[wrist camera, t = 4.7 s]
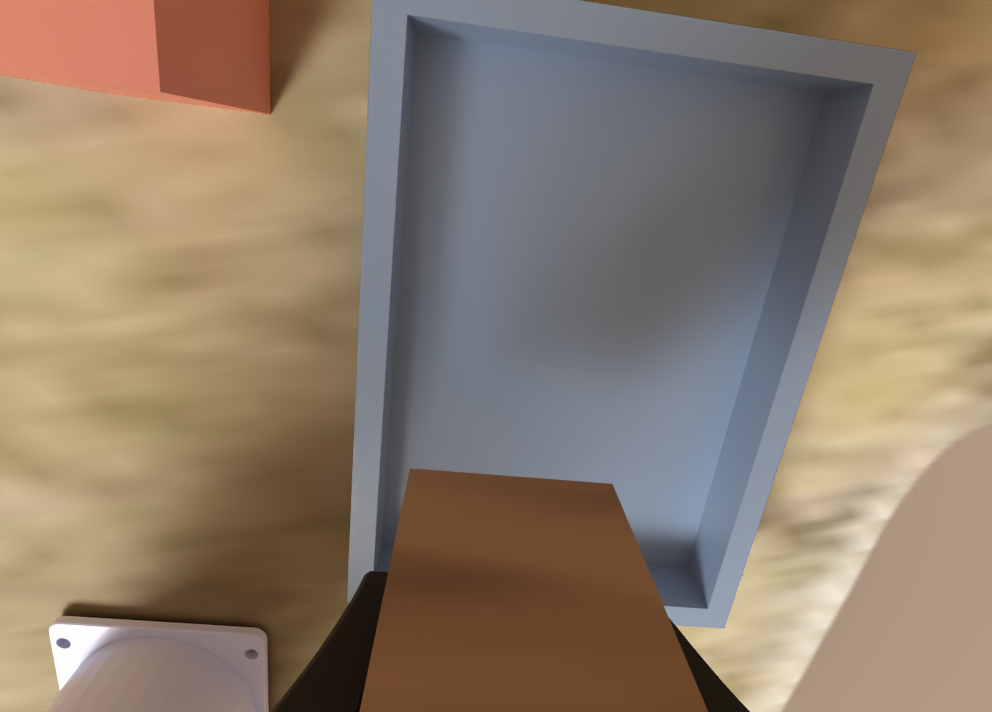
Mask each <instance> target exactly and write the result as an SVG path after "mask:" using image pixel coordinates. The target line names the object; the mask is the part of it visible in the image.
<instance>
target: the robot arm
mask: <svg viewBox="0 0 992 712" xmlns="http://www.w3.org/2000/svg"><path fill="white" fill-rule="evenodd" d="M387 576H388V572H379V571H369V572H368V573H366V574H365V575H364V577H363V579H362V581H361V583H360V585H359V587H358V589H357V591H356V592H355V594H354V596H353V598H352V600H351V601H350V603H349V605H348V606H347V608H346V610H345V611H344V613H343V614H342V616H341V618H340V619H339V621H338V622H337V624H336V625H335V627H334V628H333V630H332V631H331V633H330V634H329V636H328V637H327V639H326V640H325V642H324V643H323V644H322V646H321V647H320V649H319V650H318V652H317V653H316V655H315V656H314V657H313V659H312V660H311V662H310V663H309V664H308V665H307V667H306V668H305V669H304V671H303V672H302V673H301V675H300V676H299V677H298V678H297V680H296V681H295V682H294V684H293V685H292V686H291V688H290V689H289V690H288V691H287V693H286V694H285V695H284V697H283V698H282V699H281V700H280V701H279V703H278V704H277V705H276V706H275V707H274V709H273V710H272V711H271V712H359V711H360V707H361V702H362V697H363V692H364V687H365V682H366V678H367V673H368V668H369V663H370V658H371V653H372V649H373V644H374V639H375V634H376V629H377V624H378V620H379V615H380V610H381V605H382V600H383V595H384V591H385V586H386V581H387ZM669 620H670V622H671V624H672V627H673V629H674V632H675V634H676V636H677V639H678V641H679V643H680V646H681V648H682V651H683V653H684V655H685V658H686V660H687V663H688V665H689V667H690V670H691V672H692V674H693V677H694V679H695V682H696V684H697V686H698V689H699V691H700V694H701V696H702V698H703V701H704V703H705V705H706V708H707V710H708V712H750V711H749V710H748V709H747V708H746V707H745V706H744V705H743V704H742V703H741V702H740V701H739V700H738V699H737V698H736V696H735V695H734V694H733V693H732V692H731V691H730V690H729V689H728V688H727V686H726V685H725V684H724V683H723V682H722V681H721V680H720V679H719V677H718V676H717V675H716V674H715V673H714V671H713V670H712V669H711V668H710V667H709V666H708V664H707V663H706V662H705V661H704V660H703V659H702V657H701V656H700V655H699V654H698V653H697V651H696V650H695V649H694V648H693V647H692V645H691V644H690V643H689V642H688V640H687V639H686V638H685V637H684V636H683V634H682V633H681V632H680V631H679V629H678V628H677V627H676V626H675V624H674V623H673V622H672V621H671V619H670V618H669ZM49 635H50V641H51V646H52V651H53V657H54V662H55V667H56V673H57V678H58V683H59V689H60V691H59V693H58V694H57V695H56V697H55V698H54V699H53V700H52V702H51V703H50V704H49V706H48V707H47V708H46V709H45V711H44V712H269V703H268V648H267V635H266V634H265V632H264V631H263V630H261V629H259V628H253V627H237V626H221V625H205V624H189V623H173V622H157V621H141V620H125V619H109V618H93V617H77V616H61V617H59V618H57V619H56V620H55V621H54V622H53V623H52V625H51V626H50V627H49ZM251 649H252V650H251ZM253 650H255V651H253Z"/></svg>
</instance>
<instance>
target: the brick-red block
mask: <svg viewBox="0 0 992 712" xmlns="http://www.w3.org/2000/svg"><path fill="white" fill-rule="evenodd" d="M0 75H4V76H10V77H16V78H21V79H27V80H33V81H39V82H45V83H51V84H57V85H62V86H68V87H74V88H80V89H86V90H92V91H97V92H103V93H110V94H118V95H125V96H133V97H141V98H148V99H156V100H164V101H171V102H179V103H187V104H194V105H202V106H209V107H217V108H225V109H232V110H240V111H248V112H255V113H263V114H271V105H270V28H269V0H0Z"/></svg>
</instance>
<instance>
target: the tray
mask: <svg viewBox="0 0 992 712" xmlns="http://www.w3.org/2000/svg"><path fill="white" fill-rule="evenodd" d="M916 53H917V52H911V51H904V50H898V49H891V48H885V47H878V46H872V45H865V44H859V43H853V42H846V41H840V40H833V39H827V38H820V37H814V36H807V35H801V34H794V33H788V32H782V31H775V30H769V29H762V28H756V27H749V26H743V25H736V24H730V23H723V22H717V21H710V20H704V19H698V18H691V17H685V16H678V15H672V14H665V13H659V12H652V11H646V10H639V9H633V8H627V7H620V6H614V5H607V4H601V3H594V2H588V1H581V0H372V22H371V45H370V69H369V93H368V116H367V140H366V163H365V187H364V211H363V234H362V258H361V282H360V305H359V329H358V352H357V376H356V400H355V423H354V447H353V471H352V494H351V518H350V541H349V565H348V589H347V603H350V601H351V600H352V598H353V596H354V594H355V592H356V591H357V589H358V587H359V585H360V583H361V581H362V579H363V577H364V575H365V574H366V573H368V572H369V571H379V572H388V571H389V566H390V562H391V557H392V552H393V547H394V542H395V537H396V533H397V528H398V523H399V518H400V513H401V508H402V504H403V499H404V494H405V489H406V484H407V479H408V475H409V470H410V468H414V469H427V470H440V471H453V472H466V473H479V474H492V475H505V476H518V477H531V478H544V479H557V480H570V481H583V482H596V483H609V484H613V486H614V489H615V491H616V493H617V496H618V498H619V500H620V503H621V505H622V508H623V510H624V512H625V515H626V517H627V520H628V522H629V524H630V527H631V529H632V531H633V534H634V536H635V539H636V541H637V543H638V546H639V548H640V551H641V553H642V555H643V558H644V560H645V562H646V565H647V567H648V570H649V572H650V574H651V577H652V579H653V581H654V584H655V586H656V589H657V591H658V593H659V596H660V598H661V601H662V603H663V605H664V608H665V610H666V612H667V615H668V617H669V618H670V619H671V621H672V622H673V623H674V624H675V625H679V626H694V627H709V628H725V625H726V622H727V619H728V616H729V613H730V610H731V607H732V604H733V601H734V598H735V595H736V592H737V589H738V586H739V583H740V580H741V577H742V574H743V571H744V568H745V565H746V562H747V559H748V556H749V553H750V550H751V547H752V544H753V541H754V538H755V535H756V532H757V529H758V526H759V523H760V520H761V517H762V514H763V511H764V508H765V505H766V502H767V499H768V496H769V493H770V490H771V487H772V484H773V481H774V478H775V475H776V472H777V469H778V466H779V463H780V460H781V457H782V454H783V451H784V448H785V445H786V442H787V439H788V436H789V433H790V430H791V427H792V424H793V421H794V418H795V415H796V412H797V409H798V406H799V403H800V400H801V397H802V394H803V391H804V388H805V385H806V382H807V379H808V376H809V373H810V370H811V367H812V364H813V361H814V358H815V355H816V352H817V349H818V346H819V343H820V340H821V337H822V334H823V331H824V328H825V325H826V322H827V319H828V316H829V313H830V310H831V307H832V304H833V301H834V298H835V295H836V292H837V289H838V286H839V283H840V280H841V277H842V274H843V271H844V268H845V265H846V262H847V259H848V256H849V253H850V250H851V247H852V244H853V241H854V238H855V235H856V232H857V229H858V226H859V223H860V220H861V217H862V214H863V211H864V208H865V205H866V202H867V199H868V196H869V193H870V190H871V187H872V184H873V181H874V178H875V175H876V172H877V169H878V166H879V163H880V160H881V157H882V154H883V151H884V148H885V145H886V142H887V139H888V136H889V133H890V130H891V127H892V124H893V121H894V118H895V115H896V112H897V109H898V106H899V103H900V100H901V97H902V94H903V91H904V88H905V85H906V82H907V79H908V76H909V73H910V70H911V67H912V64H913V62H914V59H915V56H916Z"/></svg>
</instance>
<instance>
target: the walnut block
mask: <svg viewBox="0 0 992 712" xmlns="http://www.w3.org/2000/svg"><path fill="white" fill-rule="evenodd" d="M359 712H708V710H707V708H706V705H705V703H704V701H703V698H702V696H701V694H700V691H699V689H698V686H697V684H696V682H695V679H694V677H693V674H692V672H691V670H690V667H689V665H688V663H687V660H686V658H685V655H684V653H683V651H682V648H681V646H680V643H679V641H678V639H677V636H676V634H675V632H674V629H673V627H672V624H671V622H670V620H669V617H668V615H667V612H666V610H665V608H664V605H663V603H662V601H661V598H660V596H659V593H658V591H657V589H656V586H655V584H654V581H653V579H652V577H651V574H650V572H649V570H648V567H647V565H646V562H645V560H644V558H643V555H642V553H641V551H640V548H639V546H638V543H637V541H636V539H635V536H634V534H633V531H632V529H631V527H630V524H629V522H628V520H627V517H626V515H625V512H624V510H623V508H622V505H621V503H620V500H619V498H618V496H617V493H616V491H615V489H614V486H613V484H609V483H596V482H583V481H570V480H557V479H544V478H531V477H518V476H505V475H492V474H479V473H466V472H453V471H440V470H427V469H414V468H410V470H409V475H408V479H407V484H406V489H405V494H404V499H403V504H402V508H401V513H400V518H399V523H398V528H397V533H396V537H395V542H394V547H393V552H392V557H391V562H390V566H389V571H388V576H387V581H386V586H385V591H384V595H383V600H382V605H381V610H380V615H379V620H378V624H377V629H376V634H375V639H374V644H373V649H372V653H371V658H370V663H369V668H368V673H367V678H366V682H365V687H364V692H363V697H362V702H361V707H360V711H359Z"/></svg>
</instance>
